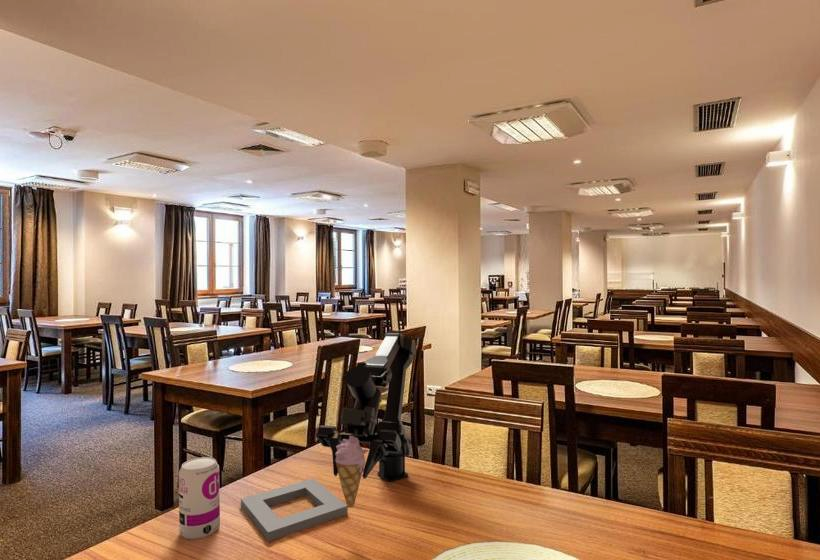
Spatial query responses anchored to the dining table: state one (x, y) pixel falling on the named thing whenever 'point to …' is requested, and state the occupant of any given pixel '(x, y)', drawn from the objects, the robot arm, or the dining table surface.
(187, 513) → the supplement can
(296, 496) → the grey flat square frame
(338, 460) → the ice cream cone
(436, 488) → the dining table surface
